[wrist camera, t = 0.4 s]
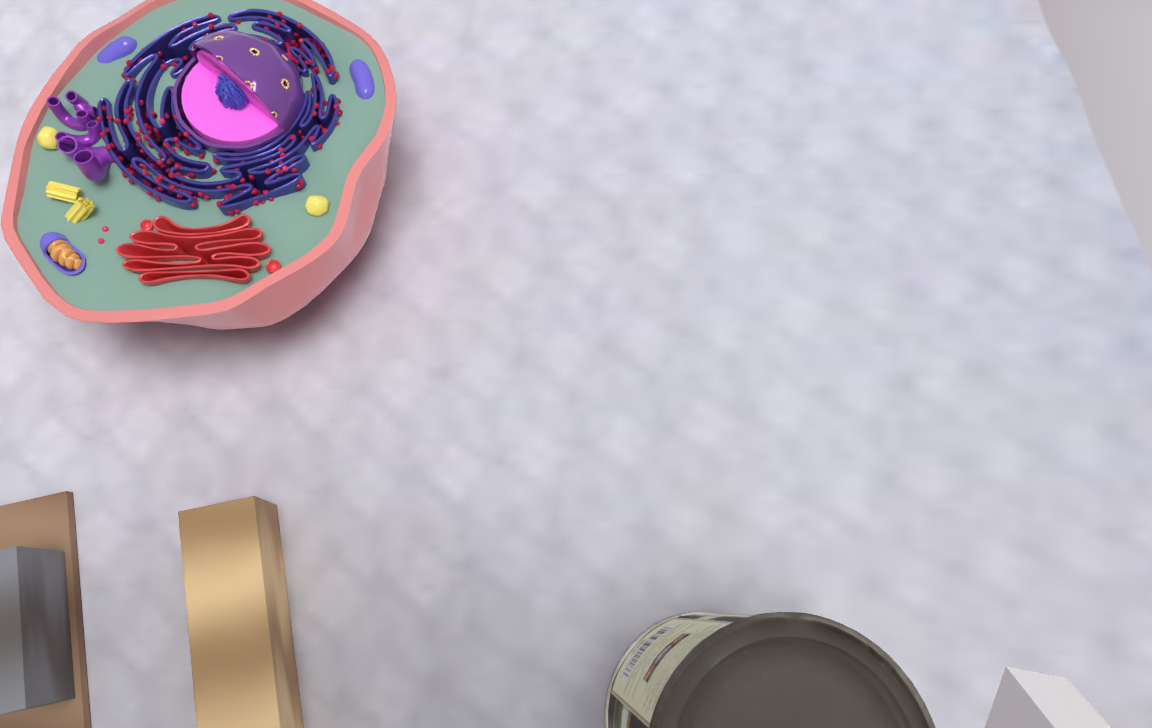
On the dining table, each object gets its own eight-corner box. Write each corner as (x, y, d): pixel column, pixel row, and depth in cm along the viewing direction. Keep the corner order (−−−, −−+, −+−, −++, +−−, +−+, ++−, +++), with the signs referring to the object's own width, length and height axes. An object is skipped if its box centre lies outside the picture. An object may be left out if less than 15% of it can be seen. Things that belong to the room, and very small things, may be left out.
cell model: (15, 253, 45) (-145, 142, 34) (274, 31, 50) (207, -126, 39) (231, 444, 43) (133, 389, 32) (479, 190, 48) (467, 70, 37)
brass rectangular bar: (313, 793, 38) (290, 814, 35) (238, 812, 38) (206, 835, 34) (278, 505, 42) (253, 496, 38) (209, 520, 42) (178, 511, 38)
